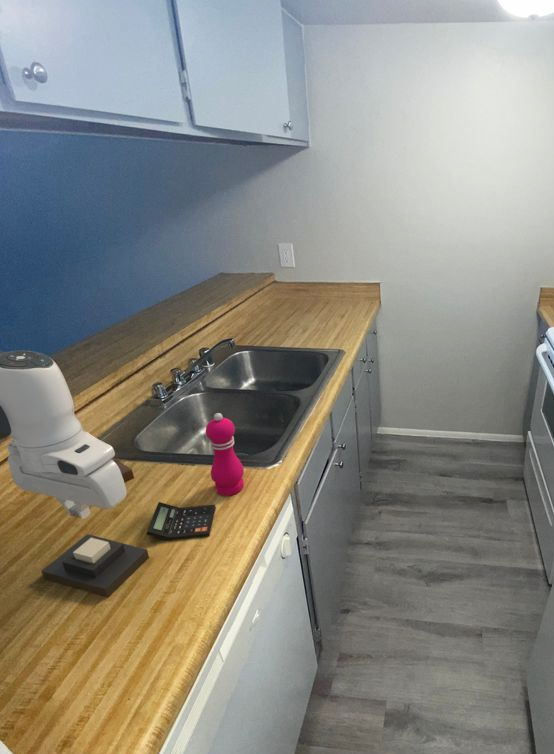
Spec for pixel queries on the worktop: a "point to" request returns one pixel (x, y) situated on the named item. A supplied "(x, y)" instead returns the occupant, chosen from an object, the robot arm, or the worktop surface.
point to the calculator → (181, 522)
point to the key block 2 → (124, 470)
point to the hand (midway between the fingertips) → (80, 515)
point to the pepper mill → (224, 457)
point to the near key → (91, 550)
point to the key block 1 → (96, 568)
